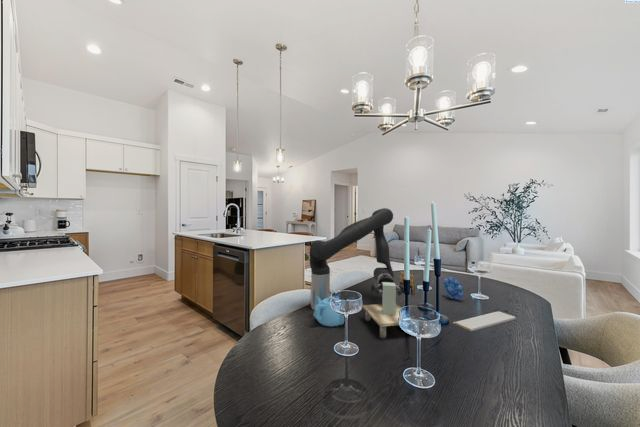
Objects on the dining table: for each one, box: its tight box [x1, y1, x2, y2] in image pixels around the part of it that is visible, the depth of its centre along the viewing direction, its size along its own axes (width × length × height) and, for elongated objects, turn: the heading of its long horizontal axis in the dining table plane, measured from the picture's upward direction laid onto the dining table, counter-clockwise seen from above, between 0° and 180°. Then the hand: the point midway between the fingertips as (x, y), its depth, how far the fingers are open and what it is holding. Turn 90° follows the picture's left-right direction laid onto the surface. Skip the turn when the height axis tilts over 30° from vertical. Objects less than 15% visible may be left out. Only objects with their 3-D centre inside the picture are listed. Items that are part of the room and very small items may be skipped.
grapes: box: [442, 276, 465, 301], centre depth 147 cm, size 12×7×12 cm, turn 34°
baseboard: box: [452, 308, 517, 332], centre depth 119 cm, size 30×3×10 cm
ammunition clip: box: [399, 270, 416, 295], centre depth 159 cm, size 11×2×12 cm, turn 26°
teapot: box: [313, 295, 345, 328], centre depth 118 cm, size 15×15×11 cm
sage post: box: [381, 282, 397, 315], centre depth 112 cm, size 5×5×12 cm
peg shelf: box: [361, 303, 402, 339], centre depth 113 cm, size 16×20×6 cm
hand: (388, 292), depth 113 cm, fingers open, 8 cm apart
